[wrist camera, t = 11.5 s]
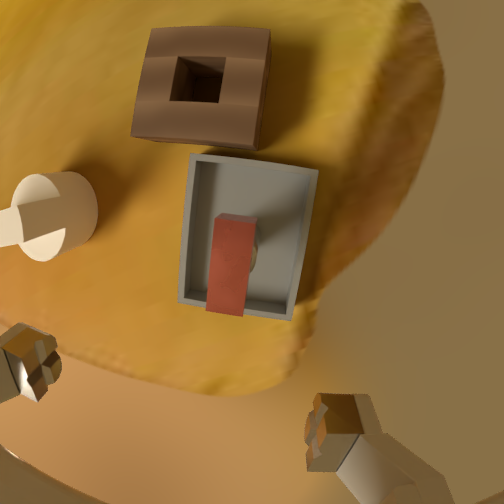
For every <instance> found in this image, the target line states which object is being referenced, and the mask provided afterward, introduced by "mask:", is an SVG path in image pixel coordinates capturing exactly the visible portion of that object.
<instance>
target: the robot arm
mask: <svg viewBox="0 0 504 504" xmlns="http://www.w3.org/2000/svg"><path fill="white" fill-rule="evenodd" d="M57 347H58V346H57V342H56V339H55V337H53V336H52V335H50V334H48V333H46V332H43V331H41V330H39V329H36V328H34V327H32V326H29V325H27V324H25V323H23V322H22V323H17V324H16V325H14V326H13V327H12V328H10V329H9V330H8V331H6V332H5V333H4V334H2V335H1V336H0V403H2V402H4V401H7V400H9V399H11V398H13V397H16V396H18V395H20V394H22V395H24V396H26V397H28V398H30V399H32V400H34V401H36V402H39V400H40V399H41V398H42V397H43V396H44V394H45V393H46V392H47V391H48V385H50V384H53V383H55V382H56V381H57V379H58V378H59V376H60V373H61V370H62V363H61V359H60V356H59V355H58V354H57V352H56V349H57ZM313 406H314V410H312V411H311V412H309V414H308V417H307V420H306V424H305V436H304V437H305V443H306V444H307V445H308V446H309V448H308V450H307V452H306V463H307V471H310V472H336V474H337V475H338V477H339V478H340V479H341V480H342V482H343V483H344V484H345V485H346V486H347V488H348V489H349V490H350V491H351V492H352V494H353V495H354V496H355V497H356V498H357V500H358V501H359V502H360V503H361V504H455V503H454V501H453V498H452V495H451V493H450V490H449V488H448V485H447V483H446V480H445V478H444V476H443V475H442V474H440V473H439V472H438V471H436V470H435V469H434V468H433V467H431V466H430V465H428V464H427V463H426V462H424V461H423V460H422V459H421V458H419V457H418V456H417V455H415V454H414V453H412V452H411V451H410V450H409V449H407V448H406V447H405V446H403V445H402V444H401V443H399V442H398V441H397V440H395V439H394V438H393V437H392V436H390V435H389V434H388V433H383V432H382V429H381V426H380V423H379V420H378V418H377V415H376V412H375V409H374V406H373V403H372V401H371V398H370V396H369V395H368V394H332V393H317V394H316V396H315V398H314V401H313ZM0 504H109V503H106V502H103V501H101V500H99V499H97V498H94V497H92V496H90V495H87V494H85V493H83V492H81V491H79V490H77V489H74V488H72V487H70V486H68V485H66V484H64V483H63V482H61V481H59V480H57V479H55V478H53V477H51V476H49V475H48V474H46V473H44V472H42V471H41V470H39V469H37V468H36V467H34V466H32V465H31V464H29V463H27V462H26V461H24V460H23V459H21V458H20V457H18V456H17V455H15V454H14V453H12V452H11V451H9V450H8V449H6V448H5V447H4V446H2V445H1V444H0ZM474 504H504V490H503V491H501V492H499V493H496V494H494V495H492V496H490V497H488V498H486V499H483V500H481V501H479V502H476V503H474Z"/></svg>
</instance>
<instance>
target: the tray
mask: <svg viewBox="0 0 504 504" xmlns="http://www.w3.org/2000/svg"><path fill="white" fill-rule="evenodd" d="M318 172H319V170H315V169H309V168H304V167H298V166H291V165H285V164H279V163H272V162H265V161H258V160H250V159H242V158H234V157H225V156H216V155H206V154H195V153H190V160H189V168H188V177H187V186H186V195H185V205H184V215H183V227H182V239H181V252H180V267H179V284H178V303H183V304H188V305H193V306H199V307H204V308H206V301H207V290H208V279H209V268H210V258H211V248H212V239H213V229H214V220H215V217H217V216H218V215H219V214H221V213H228V214H235V215H243V216H250V217H257V218H258V219H257V226H258V227H259V229H260V233H261V238H260V243H259V248H258V253H257V259H256V264H255V267H254V269H253V270H252V272H251V273H250V276H249V283H248V290H247V297H246V303H245V308H244V312H243V314H246V315H252V316H259V317H266V318H272V319H279V320H287V321H291V319H292V315H293V310H294V305H295V300H296V296H297V291H298V286H299V281H300V276H301V271H302V266H303V260H304V255H305V250H306V244H307V239H308V233H309V228H310V222H311V216H312V210H313V204H314V198H315V192H316V185H317V179H318Z"/></svg>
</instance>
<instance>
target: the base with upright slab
mask: <svg viewBox="0 0 504 504" xmlns="http://www.w3.org/2000/svg"><path fill="white" fill-rule="evenodd" d="M97 218H98V203H97V199H96V195H95V192H94V190H93V188H92V186H91V184H90V183H89V182H88V181H87V180H86V178H85V177H83V176H82V175H80V174H79V173H76V172H72V171H67V172H53V173H42V174H33V175H29V176H27V177H26V178H24V179H23V180H22V181H21V182H20V184H19V185H18V186H17V188H16V190H15V192H14V195H13V199H12V203H11V207H10V208H7V209H4V210H1V211H0V247H4V246H9V245H14V244H19V246H20V247H21V249H22V250H23V251H24V252H25V253H26V254H27V255H28V256H29V257H30V258H32V259H34V260H36V261H47V260H50V259H52V258H55V257H57V256H59V255H61V254H63V253H65V252H67V251H70V250H72V249H74V248H76V247H78V246H81V245H83V244H84V243H85V242H86V241H88V240H89V238H90V237H91V236H92V234H93V232H94V230H95V227H96V225H97Z"/></svg>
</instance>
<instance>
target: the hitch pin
mask: <svg viewBox="0 0 504 504" xmlns="http://www.w3.org/2000/svg"><path fill="white" fill-rule="evenodd" d="M257 219H258V218H257V217H250V216H243V215H235V214H228V213H221V214H219V215H218V216H217V217H215V220H214V229H213V239H212V248H211V258H210V268H209V279H208V290H207V301H206V311H210V312H216V313H222V314H228V315H235V316H241V317H243V312H244V308H245V303H246V297H247V290H248V283H249V276H250V273H251V272H252V270H253V269H254V267H255V264H256V259H257V253H258V248H259V243H260V238H261V233H260V229H259V227H258V226H257Z"/></svg>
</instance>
